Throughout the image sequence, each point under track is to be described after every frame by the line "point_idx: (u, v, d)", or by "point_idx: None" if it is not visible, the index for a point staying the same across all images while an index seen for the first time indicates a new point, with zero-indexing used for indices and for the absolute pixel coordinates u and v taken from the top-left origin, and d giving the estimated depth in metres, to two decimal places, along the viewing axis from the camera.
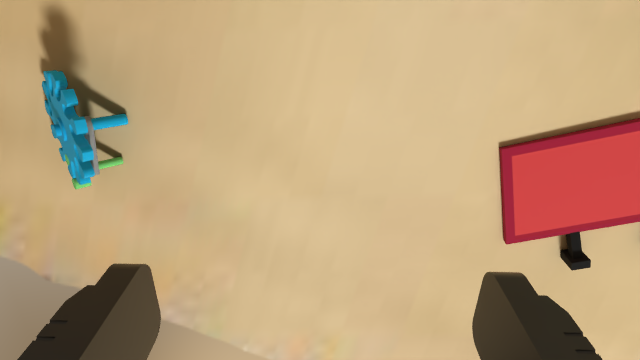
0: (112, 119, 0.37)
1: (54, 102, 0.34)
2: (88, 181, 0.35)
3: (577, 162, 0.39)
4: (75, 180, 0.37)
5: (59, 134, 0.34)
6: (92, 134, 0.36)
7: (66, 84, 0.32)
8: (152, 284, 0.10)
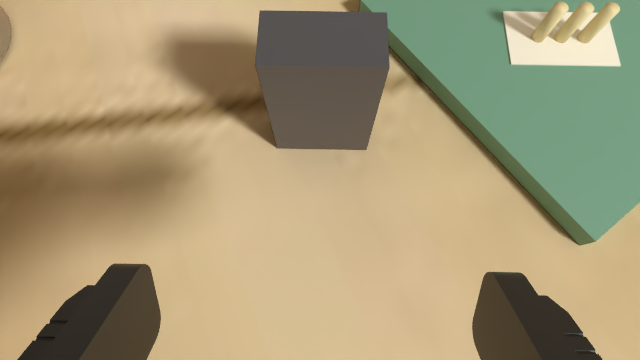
0: None
1: None
2: None
3: None
4: None
5: None
6: None
7: None
8: (152, 284, 0.10)
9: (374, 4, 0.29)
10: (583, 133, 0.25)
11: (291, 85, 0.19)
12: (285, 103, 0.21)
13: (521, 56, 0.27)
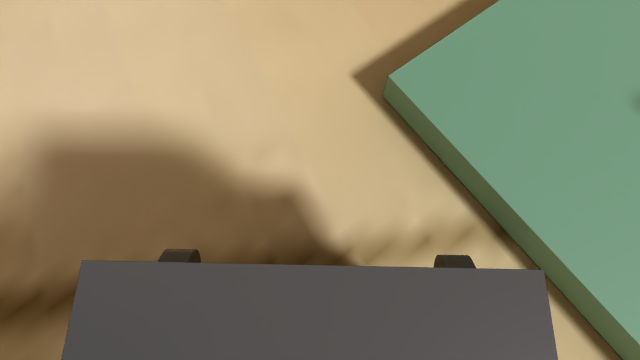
0: None
1: None
2: None
3: None
4: None
5: None
6: None
7: None
8: None
9: (414, 85, 0.15)
10: None
11: None
12: None
13: None
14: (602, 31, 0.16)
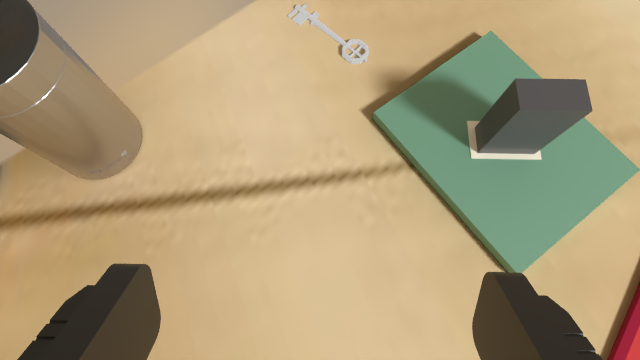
0: None
1: None
2: None
3: None
4: None
5: None
6: None
7: None
8: (152, 284, 0.10)
9: (382, 115, 0.44)
10: (515, 205, 0.40)
11: (528, 119, 0.35)
12: (514, 127, 0.36)
13: (478, 153, 0.42)
14: (450, 95, 0.44)
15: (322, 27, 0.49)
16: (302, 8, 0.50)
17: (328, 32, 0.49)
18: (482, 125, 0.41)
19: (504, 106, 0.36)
